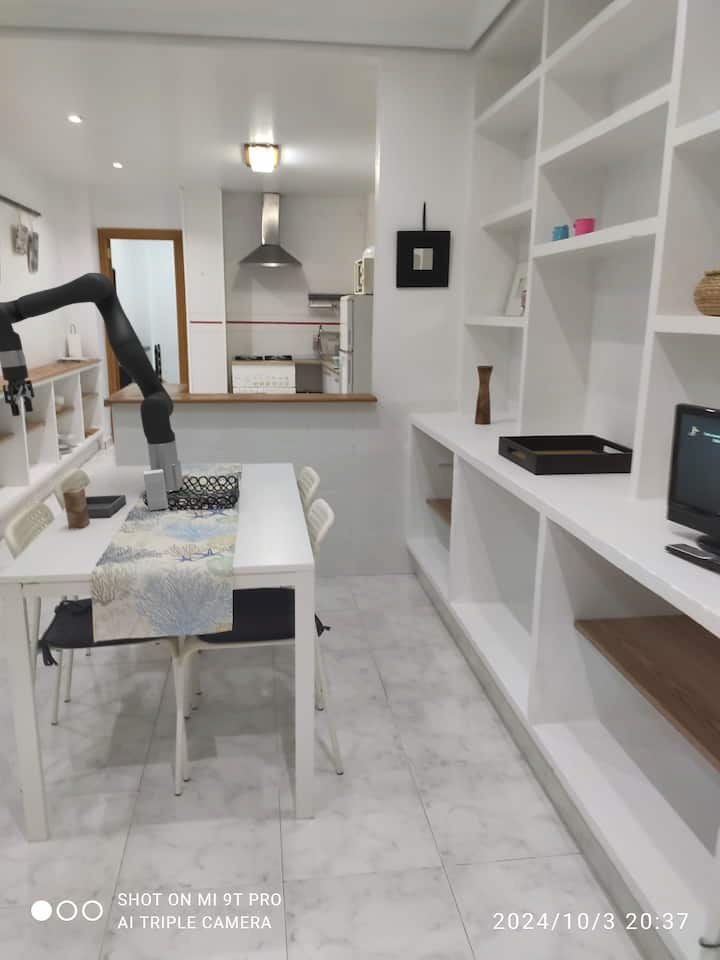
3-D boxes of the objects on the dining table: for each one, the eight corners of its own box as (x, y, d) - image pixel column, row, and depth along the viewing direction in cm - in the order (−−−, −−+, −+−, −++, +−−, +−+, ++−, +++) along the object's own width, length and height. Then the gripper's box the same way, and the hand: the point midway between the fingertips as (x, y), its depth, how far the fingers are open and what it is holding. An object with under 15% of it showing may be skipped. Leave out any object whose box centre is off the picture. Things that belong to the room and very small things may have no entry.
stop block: (89, 523, 210) (84, 488, 207) (83, 528, 205) (77, 492, 203) (75, 523, 210) (69, 488, 207) (69, 528, 206) (62, 493, 203)
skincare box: (167, 504, 224) (163, 468, 221) (168, 508, 220) (163, 471, 217) (148, 507, 222) (143, 471, 219) (148, 511, 218) (143, 474, 215)
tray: (126, 503, 228) (125, 494, 227) (110, 517, 214) (108, 508, 213) (87, 505, 228) (85, 496, 227) (68, 519, 215) (66, 509, 214)
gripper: (13, 366, 222) (23, 416, 226) (35, 362, 236) (44, 409, 240) (-10, 367, 223) (0, 418, 227) (13, 363, 237) (23, 411, 241)
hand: (23, 413), depth 233 cm, fingers open, 8 cm apart
